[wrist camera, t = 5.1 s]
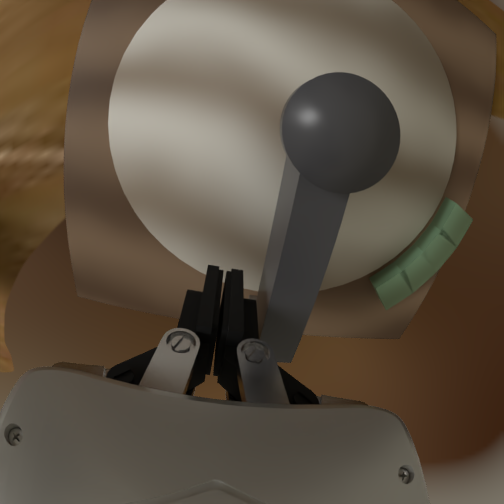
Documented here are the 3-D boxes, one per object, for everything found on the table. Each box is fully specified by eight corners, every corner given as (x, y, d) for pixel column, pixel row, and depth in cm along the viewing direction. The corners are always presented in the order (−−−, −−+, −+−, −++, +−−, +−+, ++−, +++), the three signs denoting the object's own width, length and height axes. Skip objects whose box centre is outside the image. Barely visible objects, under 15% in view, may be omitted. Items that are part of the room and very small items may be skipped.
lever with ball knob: (274, 80, 11) (295, 57, 6) (347, 98, 11) (409, 96, 6) (236, 297, 16) (234, 372, 11) (295, 303, 17) (311, 375, 12)
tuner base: (139, -59, 7) (121, -81, 3) (476, 36, 10) (506, 33, 6) (91, 277, 19) (70, 306, 16) (388, 319, 22) (404, 348, 19)
